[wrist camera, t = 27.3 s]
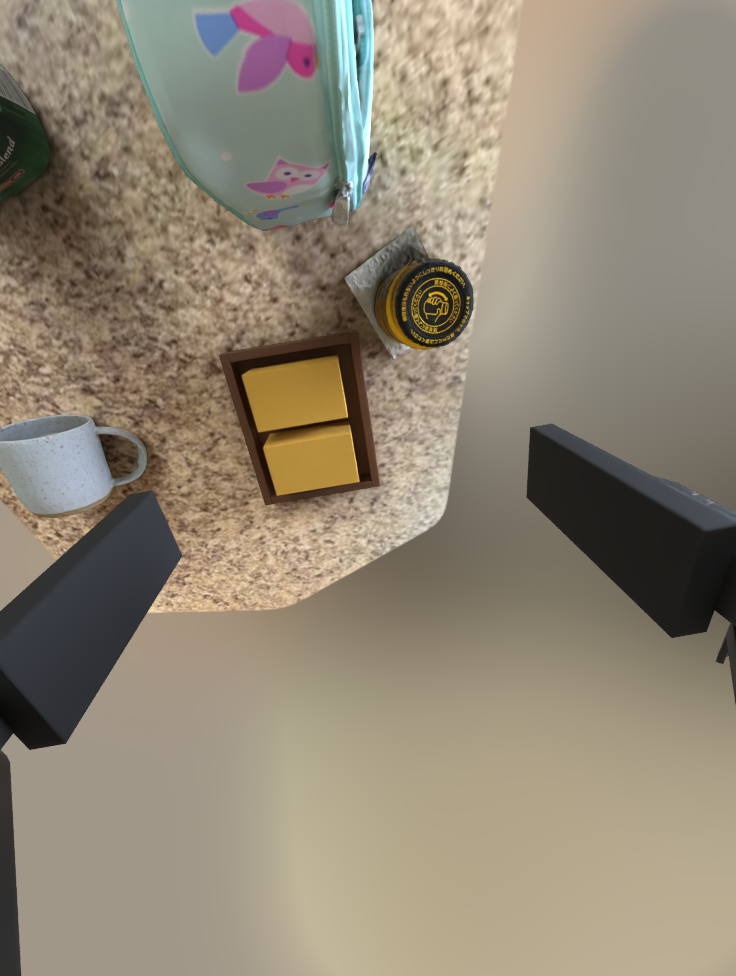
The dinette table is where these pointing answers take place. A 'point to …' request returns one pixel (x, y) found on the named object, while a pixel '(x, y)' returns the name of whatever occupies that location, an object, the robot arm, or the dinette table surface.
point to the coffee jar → (19, 140)
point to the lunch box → (262, 100)
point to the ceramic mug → (61, 463)
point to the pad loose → (296, 393)
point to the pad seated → (311, 458)
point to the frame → (357, 416)
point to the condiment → (412, 296)
